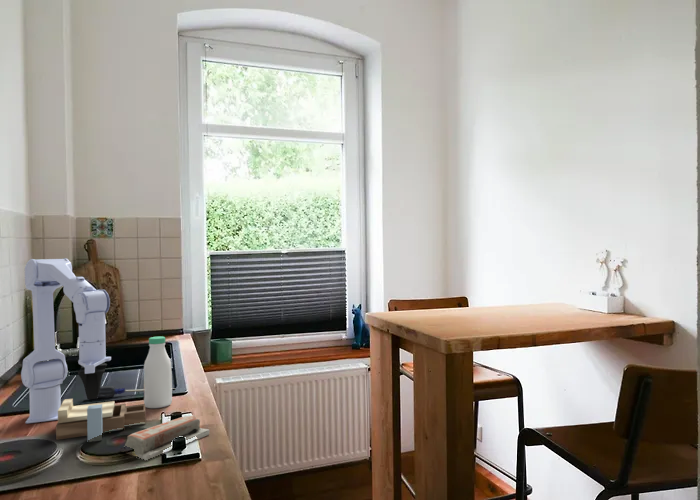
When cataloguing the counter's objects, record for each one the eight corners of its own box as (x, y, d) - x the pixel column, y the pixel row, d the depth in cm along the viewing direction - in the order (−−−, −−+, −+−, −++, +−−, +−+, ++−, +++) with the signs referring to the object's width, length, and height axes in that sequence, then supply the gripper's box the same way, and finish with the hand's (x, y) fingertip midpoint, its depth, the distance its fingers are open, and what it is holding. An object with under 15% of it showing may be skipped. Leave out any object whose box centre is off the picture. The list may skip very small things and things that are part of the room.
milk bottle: (177, 403, 148) (176, 336, 148) (154, 410, 142) (153, 340, 142) (161, 399, 152) (160, 334, 152) (138, 406, 146) (137, 338, 146)
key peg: (88, 438, 121) (88, 405, 121) (102, 436, 122) (102, 404, 122) (87, 442, 118) (87, 409, 118) (101, 441, 119) (101, 407, 119)
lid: (64, 410, 131) (64, 399, 131) (114, 404, 136) (114, 393, 136) (58, 423, 121) (57, 411, 121) (112, 416, 126) (112, 404, 126)
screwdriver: (175, 388, 165) (175, 377, 165) (175, 391, 161) (175, 379, 161) (87, 398, 155) (86, 386, 155) (85, 401, 152) (85, 389, 152)
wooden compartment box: (63, 424, 132) (63, 411, 132) (145, 413, 139) (145, 401, 139) (56, 439, 120) (56, 425, 121) (145, 427, 128) (145, 414, 128)
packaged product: (146, 441, 107) (118, 432, 113) (146, 463, 107) (118, 454, 113) (210, 416, 123) (183, 410, 128) (210, 436, 123) (183, 429, 128)
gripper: (108, 344, 115) (109, 403, 115) (112, 334, 128) (113, 387, 128) (74, 346, 112) (74, 407, 112) (81, 336, 126) (82, 390, 126)
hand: (93, 396), depth 120 cm, fingers open, 3 cm apart
